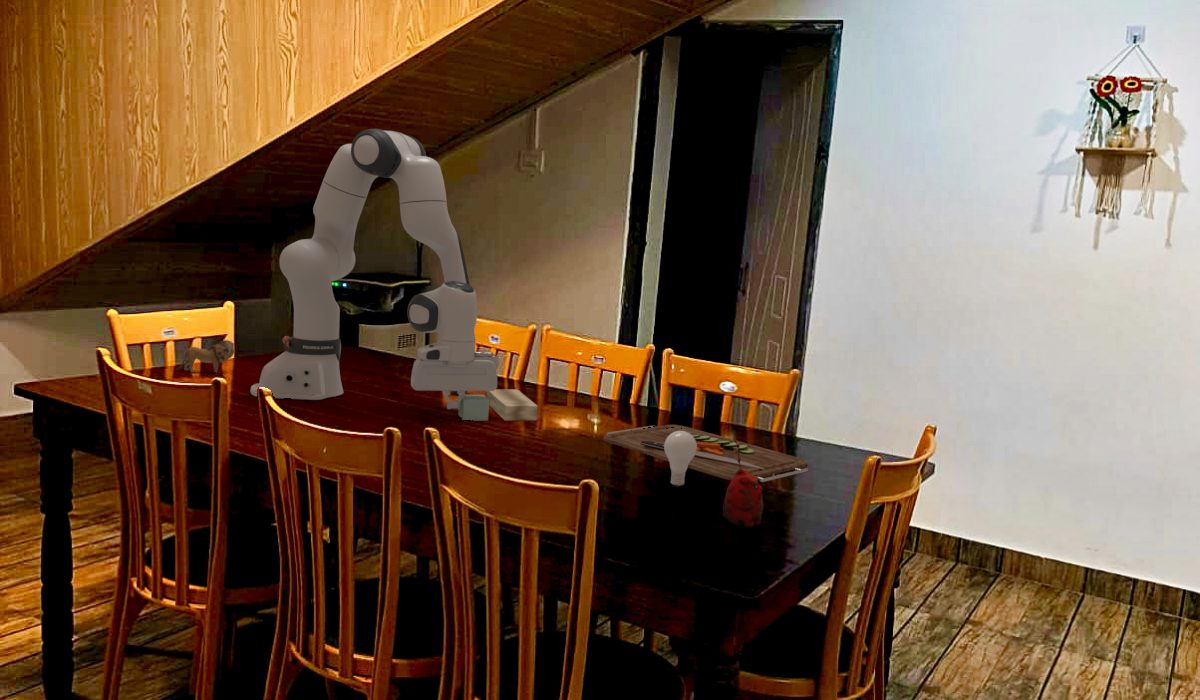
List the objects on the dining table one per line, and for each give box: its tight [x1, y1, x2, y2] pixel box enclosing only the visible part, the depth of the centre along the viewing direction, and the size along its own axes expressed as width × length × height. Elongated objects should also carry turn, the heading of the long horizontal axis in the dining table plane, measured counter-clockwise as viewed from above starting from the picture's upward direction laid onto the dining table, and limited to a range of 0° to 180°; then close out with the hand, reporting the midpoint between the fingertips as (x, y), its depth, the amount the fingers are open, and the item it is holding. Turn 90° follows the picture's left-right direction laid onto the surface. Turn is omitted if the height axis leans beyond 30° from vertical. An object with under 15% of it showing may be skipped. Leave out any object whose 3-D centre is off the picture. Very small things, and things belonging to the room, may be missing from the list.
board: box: [486, 388, 539, 421], centre depth 258 cm, size 8×20×4 cm, turn 19°
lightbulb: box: [664, 431, 697, 488], centre depth 201 cm, size 6×6×11 cm
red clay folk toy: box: [722, 437, 764, 528], centre depth 182 cm, size 8×7×15 cm
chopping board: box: [603, 424, 809, 483], centre depth 231 cm, size 45×27×3 cm, turn 45°
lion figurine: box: [175, 339, 235, 373], centre depth 277 cm, size 15×5×9 cm, turn 104°
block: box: [457, 394, 490, 422], centre depth 248 cm, size 6×6×5 cm
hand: (453, 408), depth 246 cm, fingers closed
